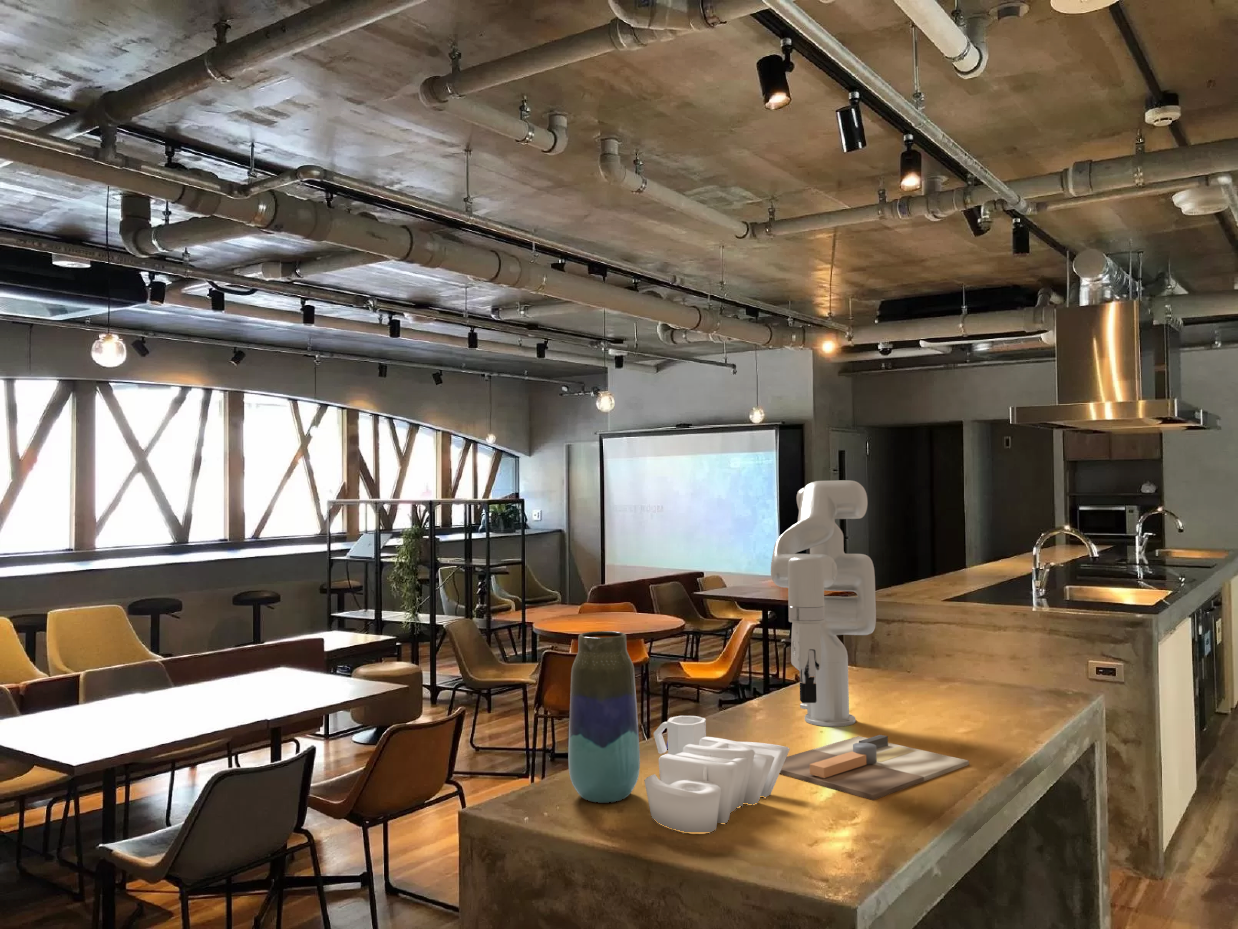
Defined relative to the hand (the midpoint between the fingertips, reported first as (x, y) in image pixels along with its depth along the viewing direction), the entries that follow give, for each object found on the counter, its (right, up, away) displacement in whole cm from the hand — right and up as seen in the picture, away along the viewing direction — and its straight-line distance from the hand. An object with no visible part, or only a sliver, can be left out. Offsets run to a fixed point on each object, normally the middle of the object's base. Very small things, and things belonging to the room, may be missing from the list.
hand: (808, 702), depth 200 cm
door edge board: (+12, -14, 0) cm, 18 cm away
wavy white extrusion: (-22, -14, -25) cm, 36 cm away
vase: (-43, -14, -17) cm, 48 cm away
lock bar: (+7, -12, -4) cm, 15 cm away
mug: (-27, -15, +4) cm, 31 cm away
